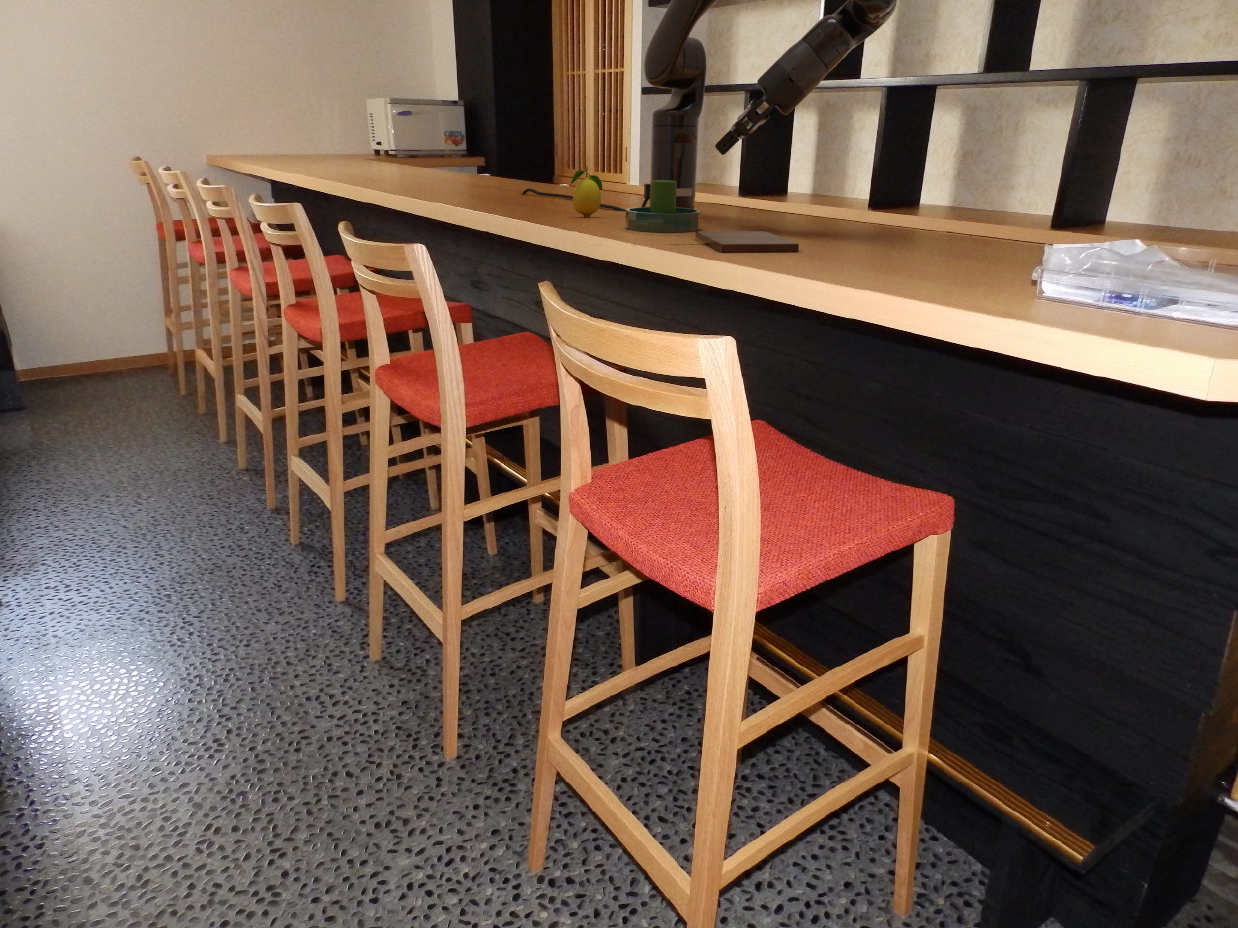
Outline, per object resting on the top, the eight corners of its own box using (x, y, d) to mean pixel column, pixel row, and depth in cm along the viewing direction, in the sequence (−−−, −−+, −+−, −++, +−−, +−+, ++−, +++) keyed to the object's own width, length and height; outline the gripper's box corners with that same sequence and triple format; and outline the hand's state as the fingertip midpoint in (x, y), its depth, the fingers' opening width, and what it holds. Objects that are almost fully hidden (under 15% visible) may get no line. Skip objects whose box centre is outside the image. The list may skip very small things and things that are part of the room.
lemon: (570, 220, 164) (570, 165, 160) (568, 217, 169) (568, 164, 166) (605, 220, 165) (605, 166, 161) (601, 217, 170) (602, 164, 166)
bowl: (620, 226, 154) (620, 207, 153) (689, 226, 156) (690, 207, 155) (632, 235, 143) (633, 213, 141) (707, 234, 145) (708, 213, 143)
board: (695, 239, 139) (695, 231, 139) (764, 238, 141) (765, 231, 140) (721, 252, 124) (721, 244, 124) (798, 252, 126) (799, 243, 126)
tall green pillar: (648, 227, 151) (649, 180, 148) (671, 227, 152) (673, 180, 149) (652, 229, 147) (654, 181, 144) (677, 229, 148) (679, 182, 145)
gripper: (775, 62, 144) (704, 133, 149) (780, 56, 131) (702, 134, 136) (803, 96, 145) (732, 165, 151) (811, 93, 132) (733, 169, 138)
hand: (718, 150), depth 144 cm, fingers open, 8 cm apart
